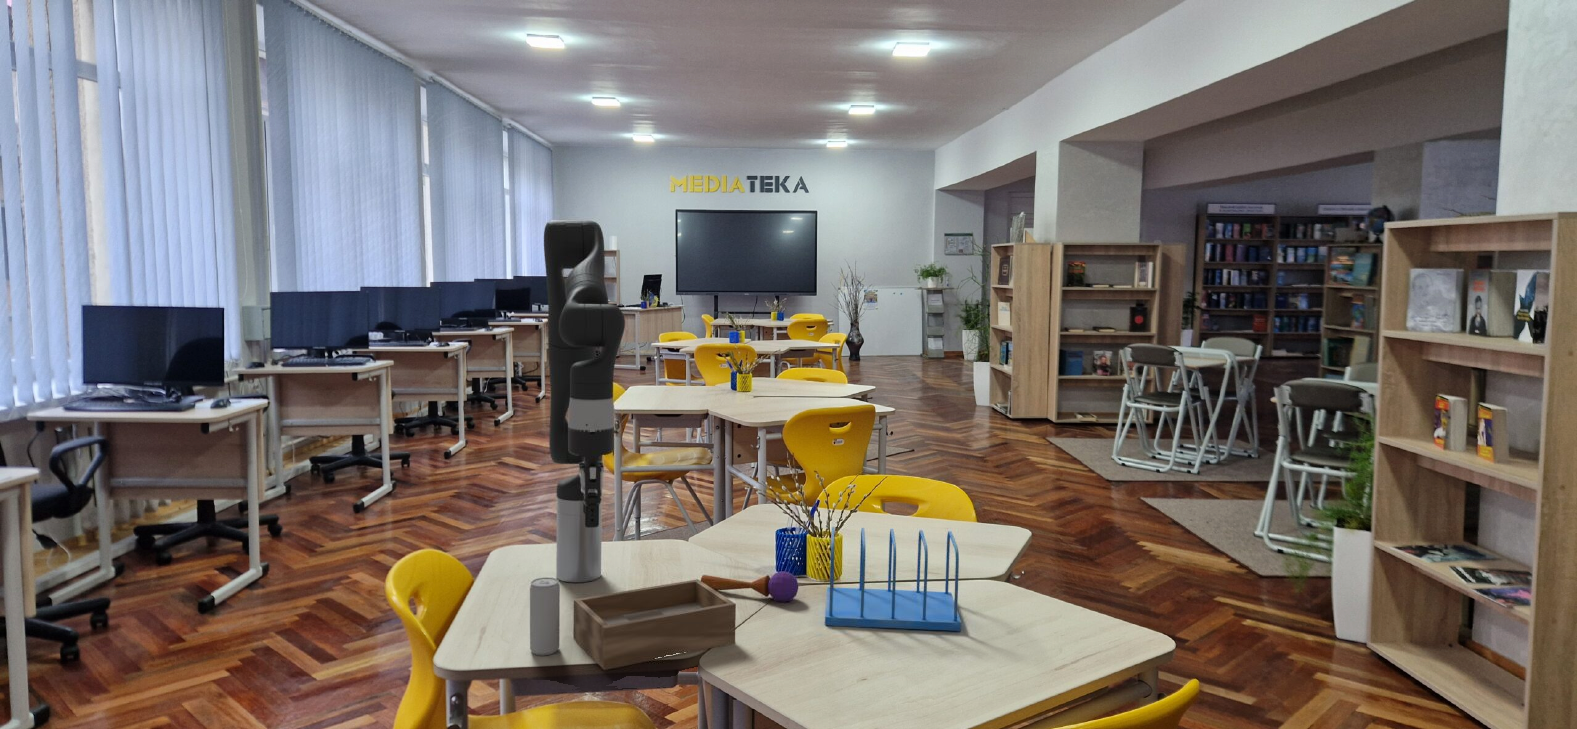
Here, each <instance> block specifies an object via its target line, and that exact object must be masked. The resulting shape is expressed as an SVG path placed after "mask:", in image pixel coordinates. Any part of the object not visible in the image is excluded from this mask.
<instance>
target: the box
mask: <svg viewBox="0 0 1577 729" xmlns="http://www.w3.org/2000/svg"><path fill="white" fill-rule="evenodd" d="M736 605H737V604H736V603H735V602H733V601H732V600H731V599H729V598H728V597H726V596H724V595H723V594H721V593H720V592H719V591H715V590H714V589H712V588H710V587H709V586H707V585H706V584H704V583H703V582H701V579H700V580H699V579H698V578H697V579H690V580H685V581H678V582H672V583H666V584H661V585H654V586H650V587H649V586H648V587H642V588H641V587H640V588H637V589H636V588H635V589H629V590H624V591H618V592H611V593H606V594H598V595H594V596H593V595H592V596H586V597H582V598H581V597H580V598H574V599H573V629H572V630H573V634H572V635H573V640H574V641H576V643H577V644H578V645H579V646H580V647H581V648H582V649H583V650H584V651H585V652H586V653H587V654H588V656H590V657H591V658H592V660H594V661H595V662H596V664H597V665H598V666H600V668H601V669H602V670H603V671H606V670H611V669H616V668H621V667H626V666H629V665H630V666H631V665H635V664H641V663H645V662H650V661H654V660H653V659H655V658H658V657H664V656H666V655H673V654H676V653H684V652H689V653H693V652H698V651H703V650H707V649H712V648H717V647H722V646H726V645H732V644H735V643H736V621H737V620H736V615H737V608H736V607H737V606H736ZM684 654H685V653H684ZM655 660H656V659H655Z"/></svg>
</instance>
